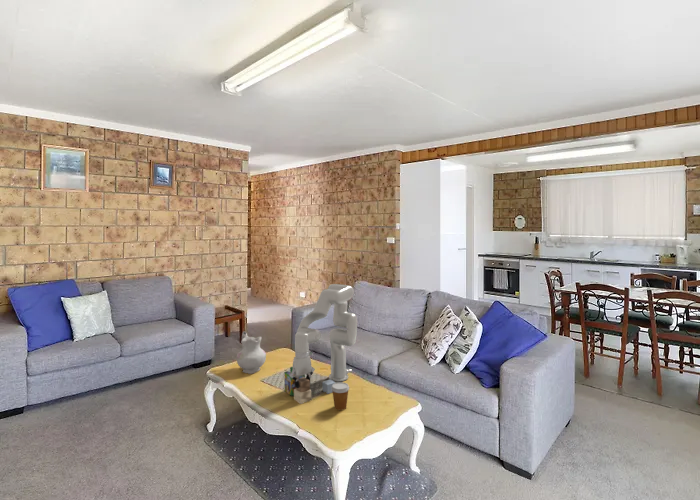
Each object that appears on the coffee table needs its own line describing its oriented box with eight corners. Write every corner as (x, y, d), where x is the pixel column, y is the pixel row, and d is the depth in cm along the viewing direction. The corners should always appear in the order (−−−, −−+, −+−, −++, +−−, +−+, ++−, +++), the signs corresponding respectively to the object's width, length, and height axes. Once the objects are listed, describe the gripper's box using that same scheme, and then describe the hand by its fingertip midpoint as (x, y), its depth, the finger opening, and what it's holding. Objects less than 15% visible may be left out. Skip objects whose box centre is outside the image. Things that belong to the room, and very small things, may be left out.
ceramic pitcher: (229, 372, 257) (225, 336, 254) (251, 361, 273) (248, 327, 270) (250, 379, 245) (247, 342, 242) (273, 367, 261) (270, 332, 258)
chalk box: (291, 396, 218) (291, 371, 217) (284, 391, 225) (283, 366, 224) (305, 392, 223) (305, 367, 222) (297, 387, 230) (297, 362, 230)
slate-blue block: (330, 388, 229) (330, 379, 228) (335, 391, 224) (335, 382, 224) (322, 390, 225) (322, 381, 225) (327, 394, 221) (327, 384, 220)
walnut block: (304, 386, 217) (304, 377, 217) (309, 389, 213) (309, 380, 212) (296, 389, 213) (295, 379, 213) (301, 392, 209) (301, 382, 209)
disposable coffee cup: (343, 413, 198) (342, 390, 197) (328, 408, 203) (327, 386, 202) (352, 406, 206) (352, 384, 205) (338, 401, 211) (337, 380, 210)
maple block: (304, 396, 218) (304, 385, 218) (311, 400, 213) (311, 390, 212) (294, 399, 214) (293, 389, 214) (300, 404, 209) (300, 393, 208)
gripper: (311, 349, 220) (311, 379, 221) (284, 355, 209) (285, 387, 210) (318, 352, 214) (319, 383, 215) (291, 359, 203) (292, 392, 205)
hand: (302, 385), depth 213 cm, fingers open, 6 cm apart
